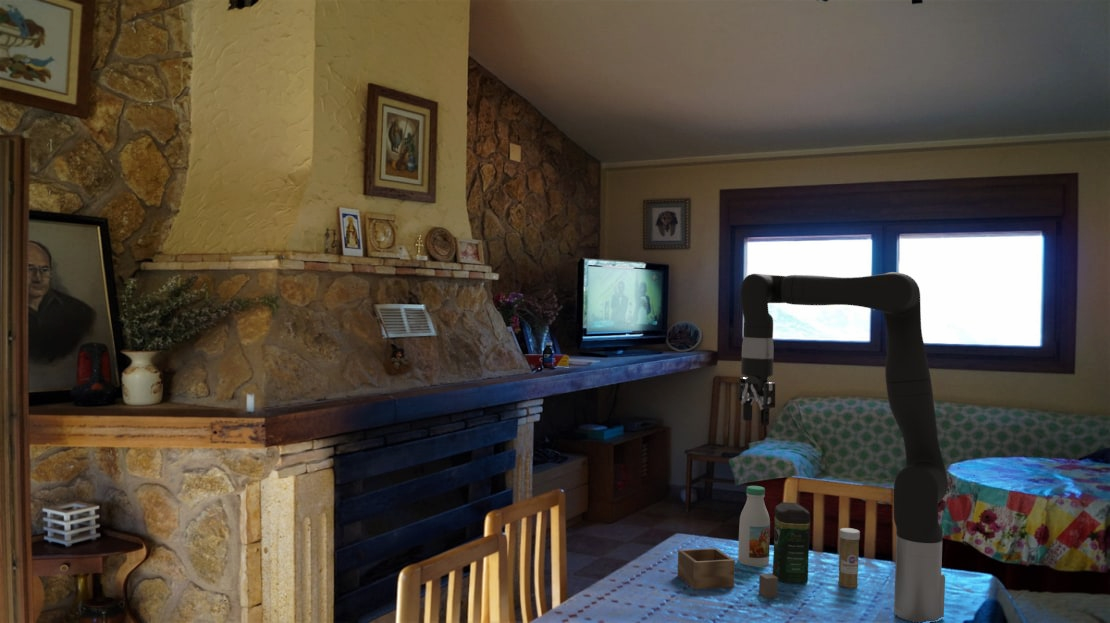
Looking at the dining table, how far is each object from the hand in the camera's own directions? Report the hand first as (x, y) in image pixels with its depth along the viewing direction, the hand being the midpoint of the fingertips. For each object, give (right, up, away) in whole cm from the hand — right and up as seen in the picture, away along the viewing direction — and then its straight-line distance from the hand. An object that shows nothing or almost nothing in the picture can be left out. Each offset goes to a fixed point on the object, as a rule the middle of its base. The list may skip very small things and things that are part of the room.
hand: (755, 422), depth 210 cm
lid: (0, -39, -14) cm, 41 cm away
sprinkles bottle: (+22, -39, -3) cm, 45 cm away
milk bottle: (+2, -38, +12) cm, 40 cm away
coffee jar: (+8, -39, 0) cm, 39 cm away
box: (-13, -38, -5) cm, 40 cm away
